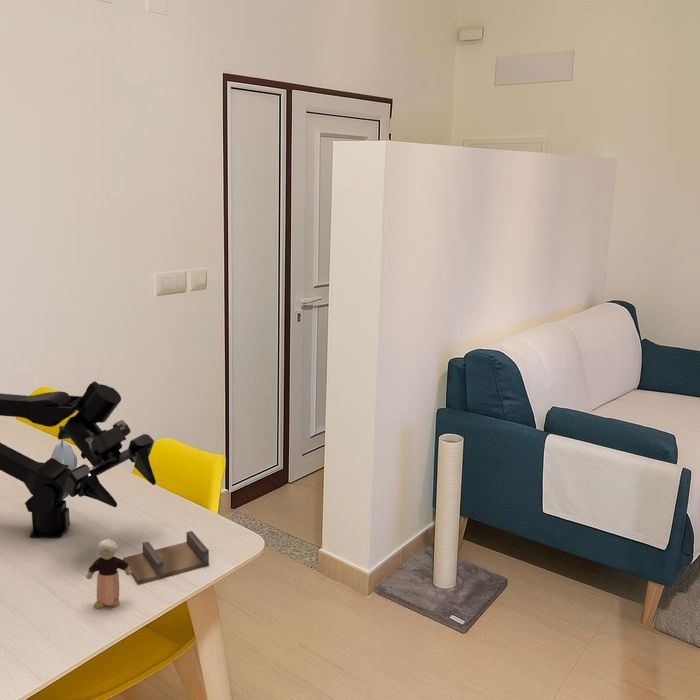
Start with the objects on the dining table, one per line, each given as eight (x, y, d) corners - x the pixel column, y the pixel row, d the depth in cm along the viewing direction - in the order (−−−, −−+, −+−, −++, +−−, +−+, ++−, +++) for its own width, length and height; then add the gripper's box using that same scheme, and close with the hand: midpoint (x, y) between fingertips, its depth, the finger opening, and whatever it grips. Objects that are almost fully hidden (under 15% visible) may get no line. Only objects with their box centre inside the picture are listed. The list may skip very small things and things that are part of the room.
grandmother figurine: (88, 613, 128) (85, 548, 125) (86, 601, 132) (83, 538, 129) (133, 605, 131) (131, 541, 128) (130, 593, 135) (128, 531, 132)
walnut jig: (138, 584, 138) (137, 568, 137) (123, 561, 145) (122, 546, 144) (208, 565, 145) (208, 550, 144) (191, 544, 153) (191, 529, 152)
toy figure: (77, 488, 176) (75, 442, 173) (50, 491, 174) (47, 444, 171) (78, 471, 186) (76, 426, 183) (52, 473, 184) (49, 428, 181)
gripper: (52, 434, 137) (101, 495, 132) (135, 397, 150) (182, 450, 145) (46, 468, 144) (92, 526, 139) (125, 429, 157) (170, 481, 153)
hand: (136, 494), depth 144 cm, fingers open, 9 cm apart
